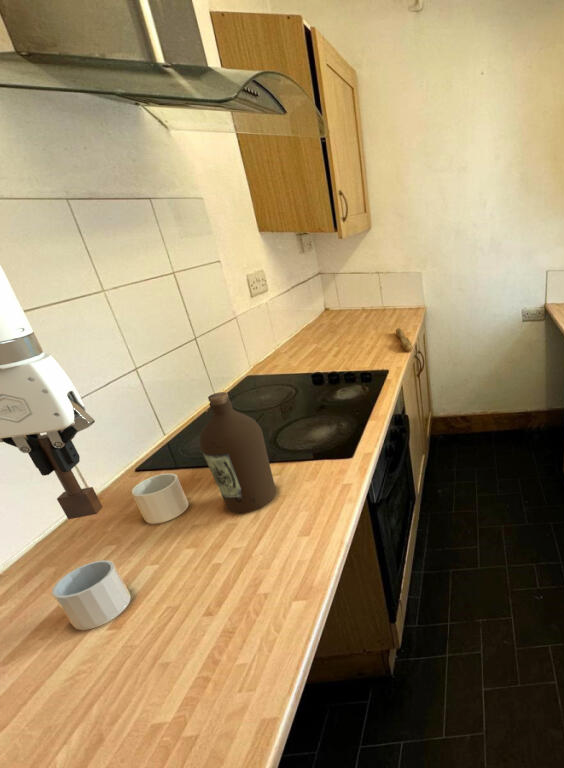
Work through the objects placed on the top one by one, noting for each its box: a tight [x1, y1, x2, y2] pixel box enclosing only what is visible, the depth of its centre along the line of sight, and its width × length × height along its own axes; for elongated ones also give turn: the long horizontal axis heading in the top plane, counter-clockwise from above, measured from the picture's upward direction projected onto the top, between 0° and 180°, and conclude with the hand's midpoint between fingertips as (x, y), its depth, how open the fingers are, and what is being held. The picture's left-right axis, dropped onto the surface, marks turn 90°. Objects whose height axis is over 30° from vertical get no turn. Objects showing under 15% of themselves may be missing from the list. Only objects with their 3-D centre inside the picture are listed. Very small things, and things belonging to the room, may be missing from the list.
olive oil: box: [199, 391, 277, 514], centre depth 85 cm, size 11×11×25 cm
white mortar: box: [51, 559, 132, 631], centre depth 64 cm, size 7×7×7 cm
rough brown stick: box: [395, 327, 413, 353], centre depth 188 cm, size 3×3×30 cm
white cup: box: [131, 472, 189, 525], centre depth 85 cm, size 7×7×7 cm
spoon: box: [37, 433, 104, 520], centre depth 62 cm, size 4×2×14 cm, turn 109°
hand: (61, 467), depth 62 cm, fingers closed on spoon, 1 cm apart
